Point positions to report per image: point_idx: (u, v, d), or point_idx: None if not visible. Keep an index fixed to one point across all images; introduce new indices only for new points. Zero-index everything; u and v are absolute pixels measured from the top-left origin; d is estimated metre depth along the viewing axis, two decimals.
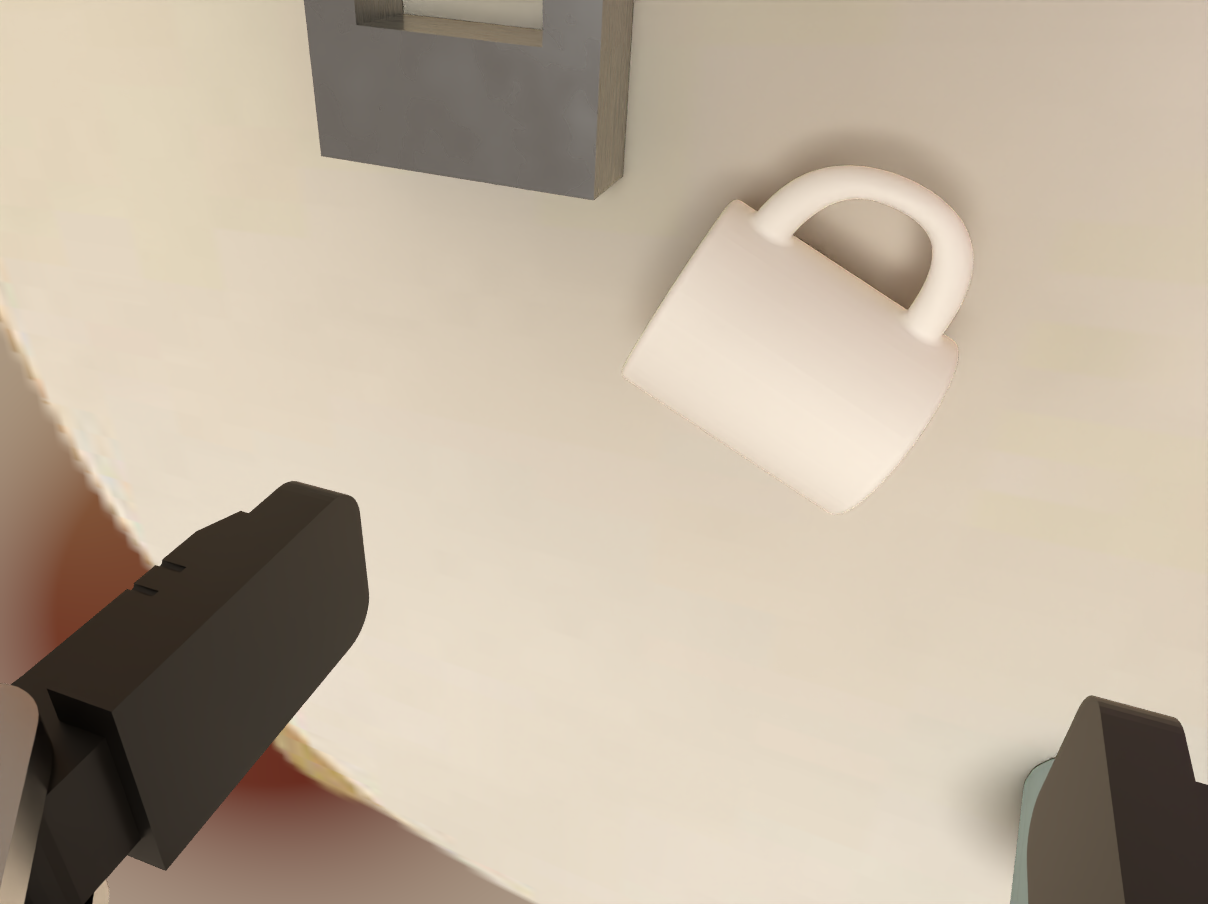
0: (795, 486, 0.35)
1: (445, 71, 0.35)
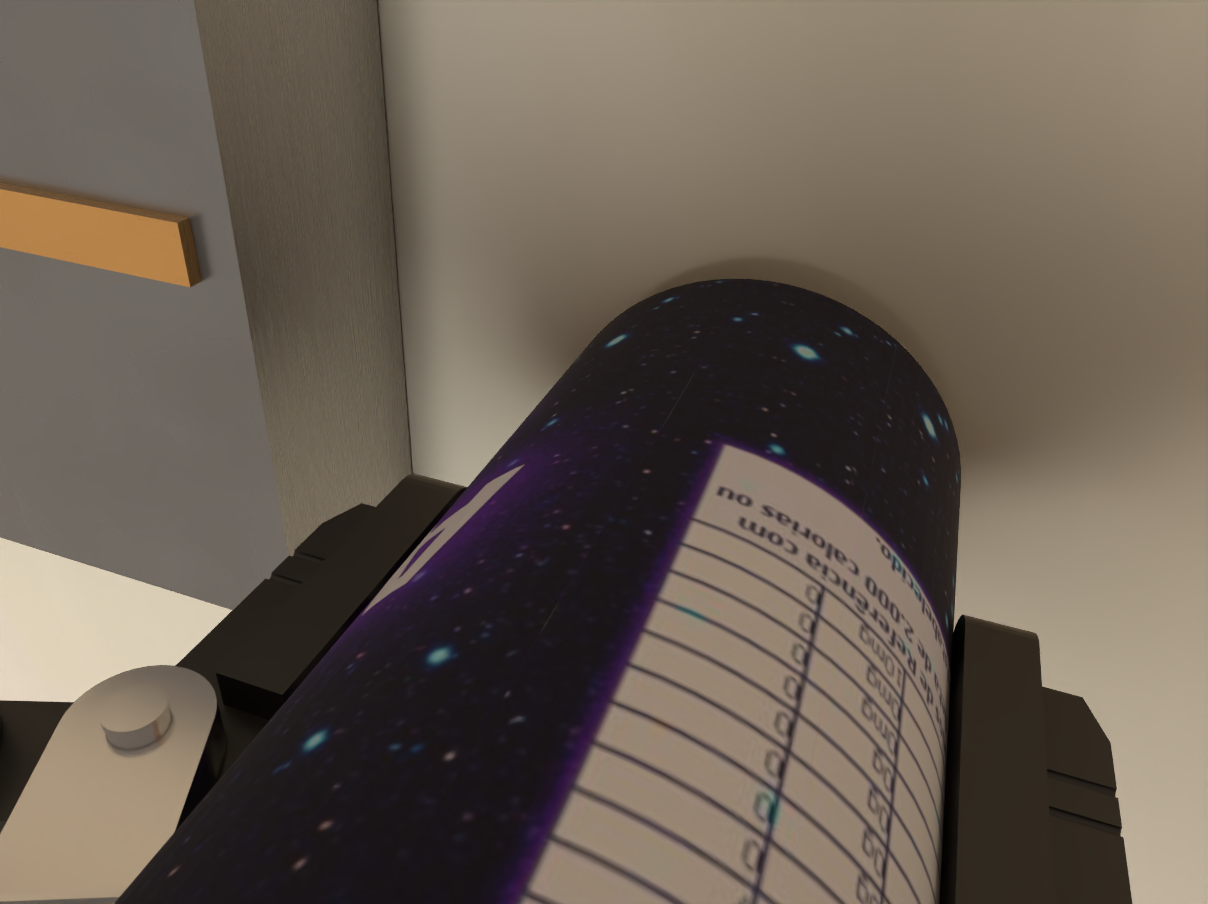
0: None
1: None
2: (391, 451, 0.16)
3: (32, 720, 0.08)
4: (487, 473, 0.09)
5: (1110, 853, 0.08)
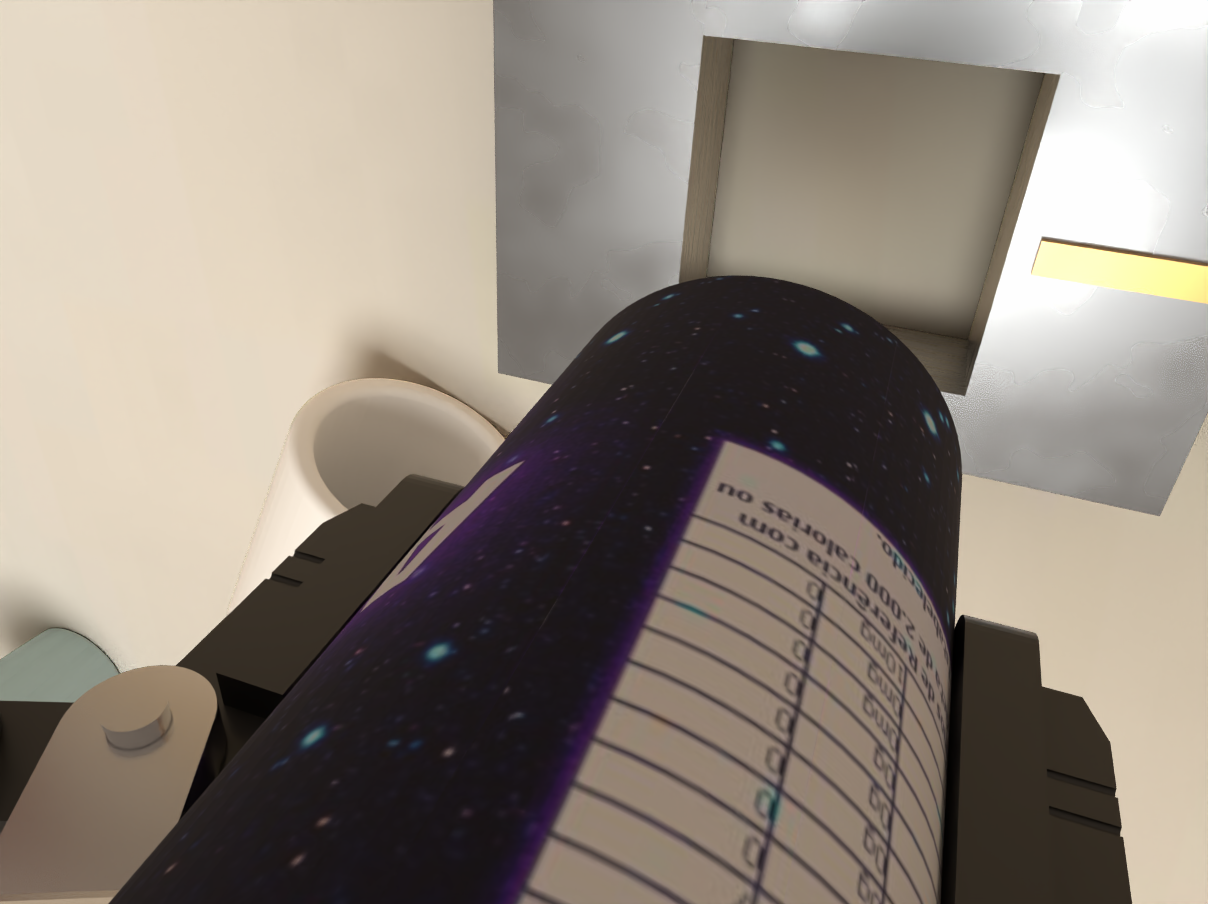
0: None
1: (639, 188, 0.23)
2: None
3: (32, 721, 0.08)
4: (487, 470, 0.09)
5: (1110, 853, 0.08)
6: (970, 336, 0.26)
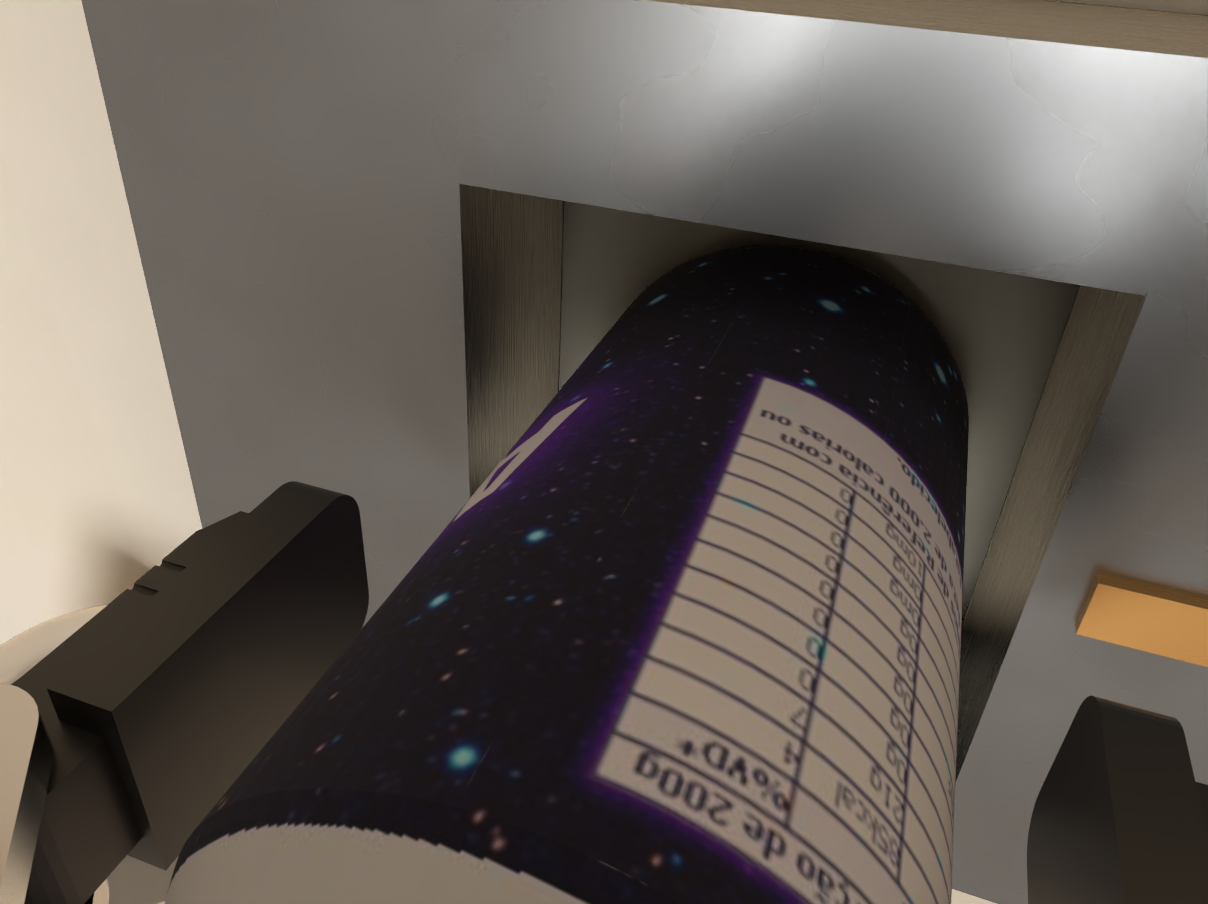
0: None
1: (390, 423, 0.14)
2: None
3: None
4: (551, 409, 0.11)
5: None
6: (964, 634, 0.16)
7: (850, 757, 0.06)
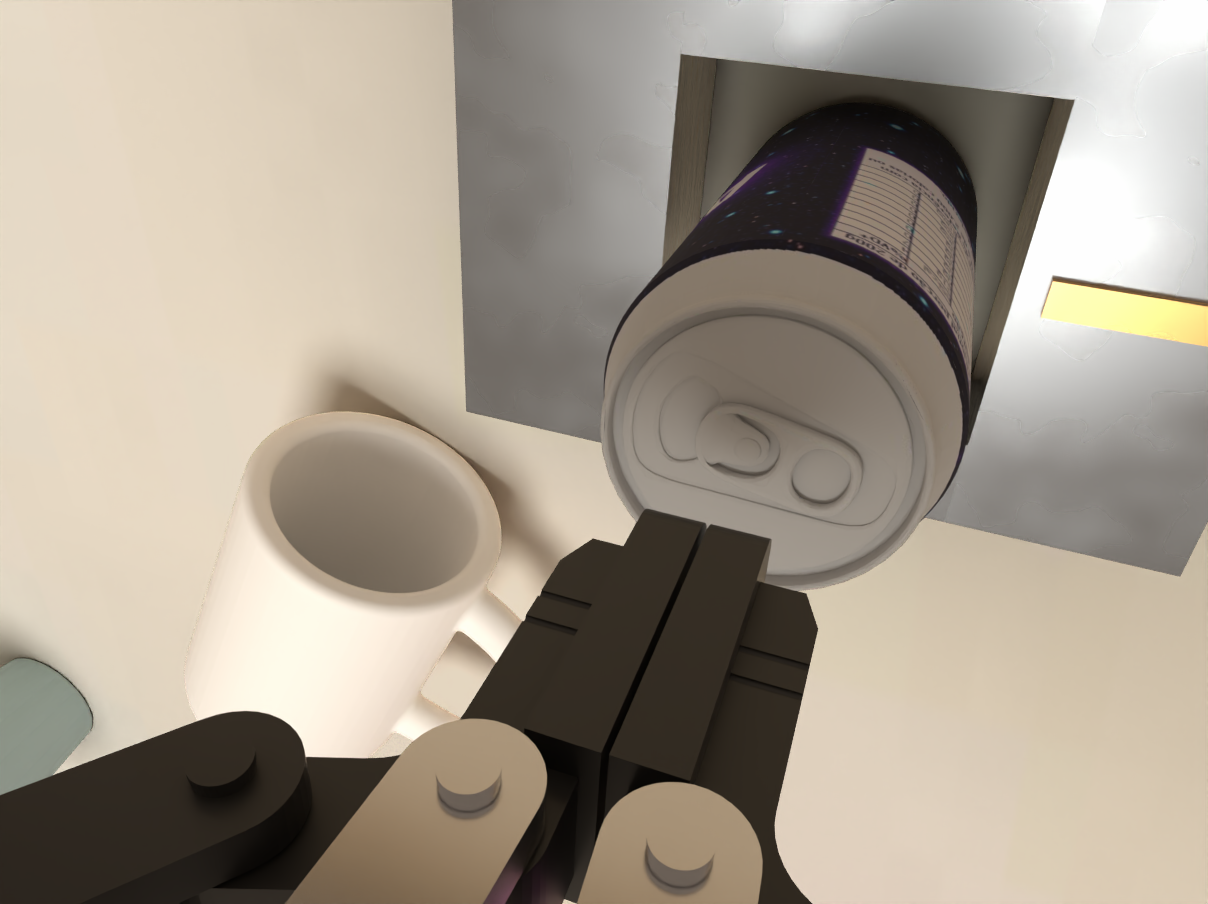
0: (194, 659, 0.31)
1: (613, 218, 0.22)
2: None
3: (334, 779, 0.08)
4: (741, 176, 0.19)
5: (786, 713, 0.09)
6: (973, 376, 0.24)
7: (928, 262, 0.14)
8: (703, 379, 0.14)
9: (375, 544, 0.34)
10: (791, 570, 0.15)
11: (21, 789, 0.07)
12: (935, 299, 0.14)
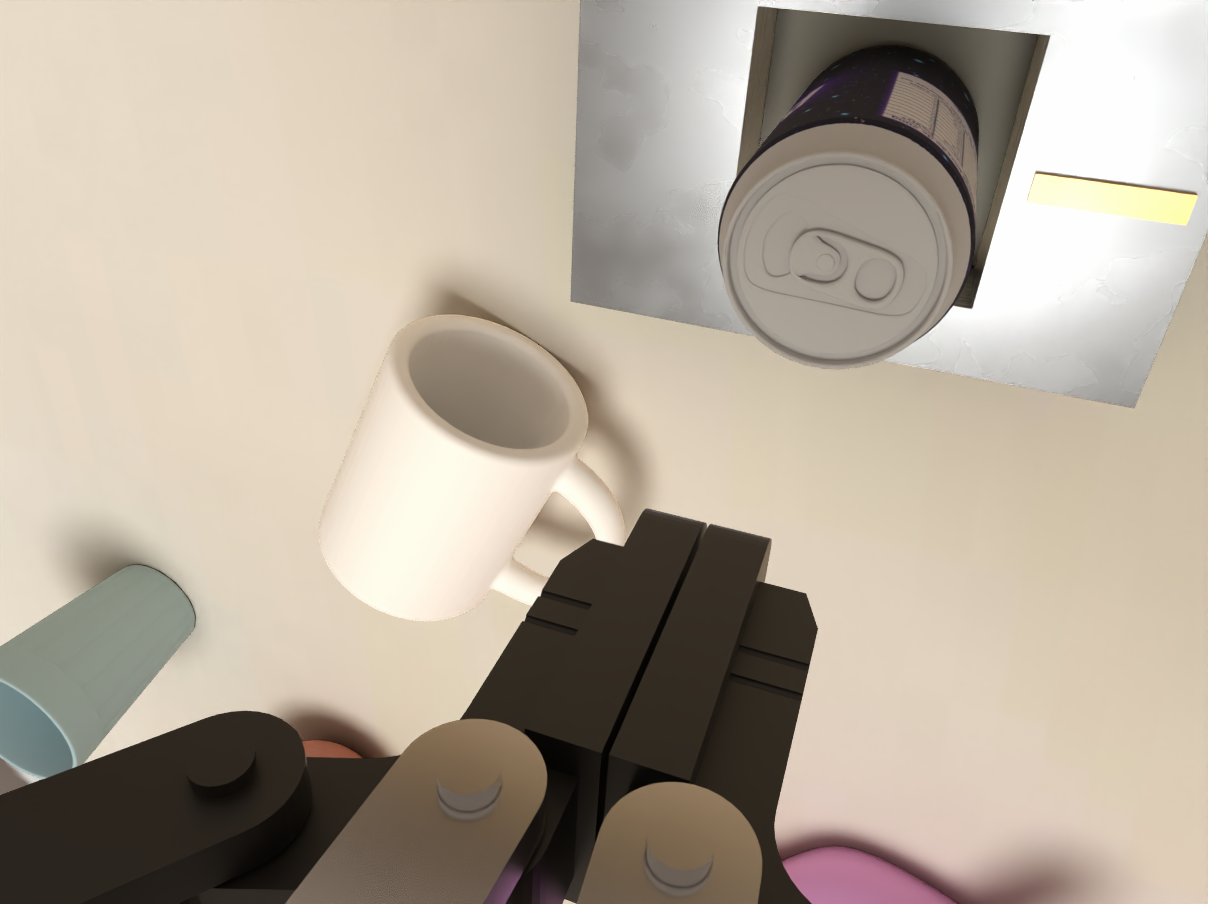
0: (333, 520, 0.37)
1: (699, 136, 0.28)
2: None
3: (336, 779, 0.08)
4: (805, 95, 0.25)
5: (785, 713, 0.09)
6: (975, 264, 0.30)
7: (946, 139, 0.21)
8: (796, 213, 0.20)
9: (472, 434, 0.41)
10: (852, 354, 0.21)
11: (21, 789, 0.07)
12: (952, 159, 0.20)
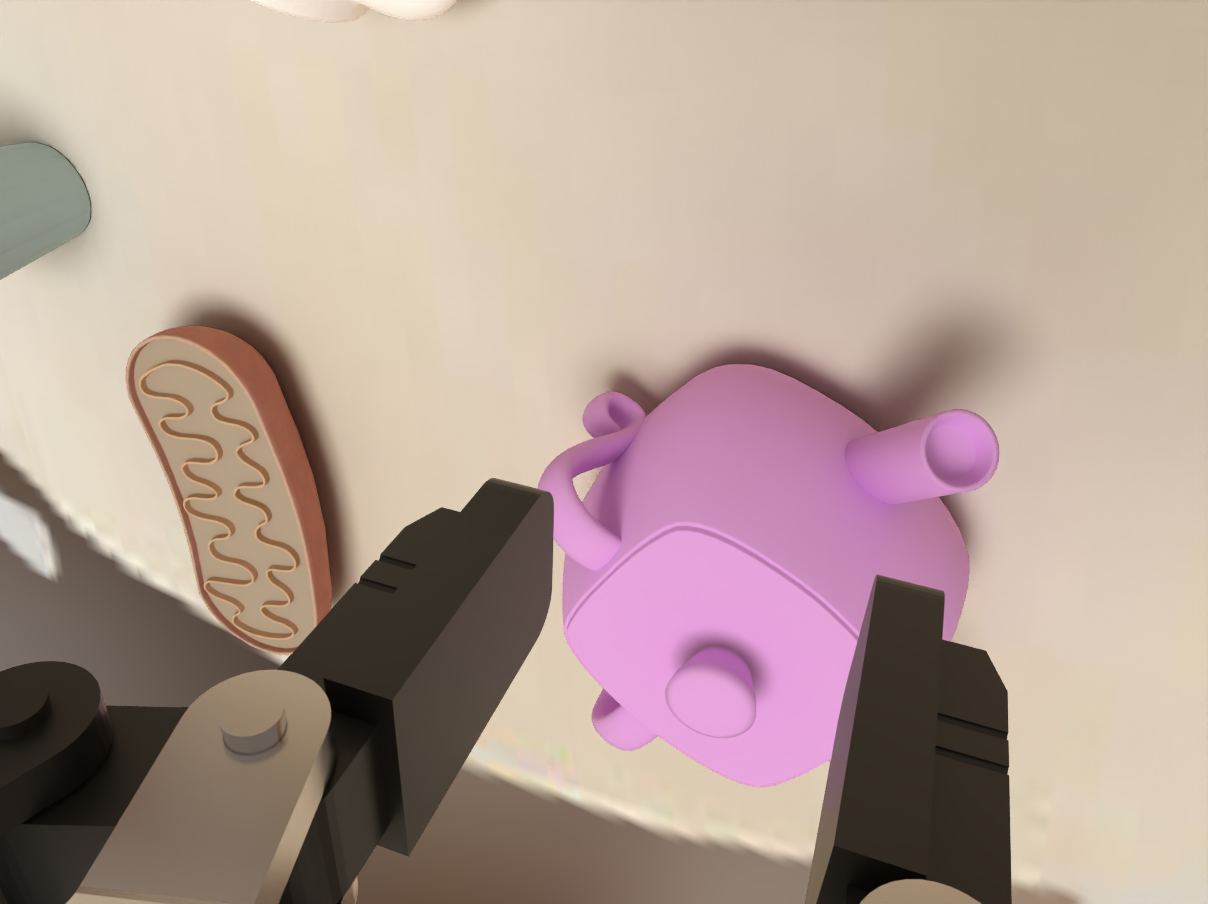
0: None
1: None
2: None
3: (142, 725, 0.08)
4: None
5: (995, 789, 0.08)
6: None
7: None
8: None
9: None
10: None
11: None
12: None
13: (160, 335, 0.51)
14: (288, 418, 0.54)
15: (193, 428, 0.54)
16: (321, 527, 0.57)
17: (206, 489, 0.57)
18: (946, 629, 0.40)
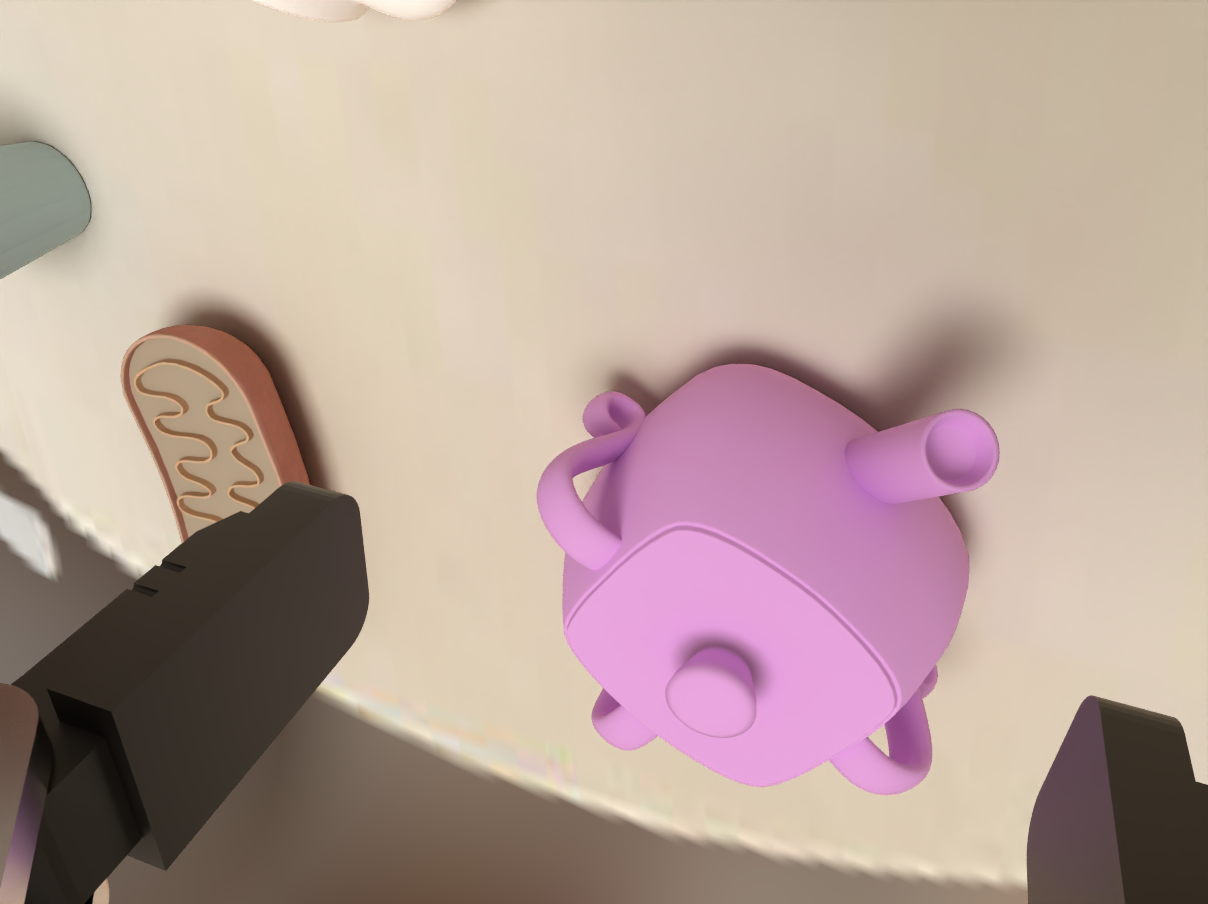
0: None
1: None
2: None
3: None
4: None
5: None
6: None
7: None
8: None
9: None
10: None
11: None
12: None
13: (156, 334, 0.51)
14: (283, 418, 0.54)
15: (188, 427, 0.54)
16: None
17: (200, 487, 0.57)
18: (946, 629, 0.40)
